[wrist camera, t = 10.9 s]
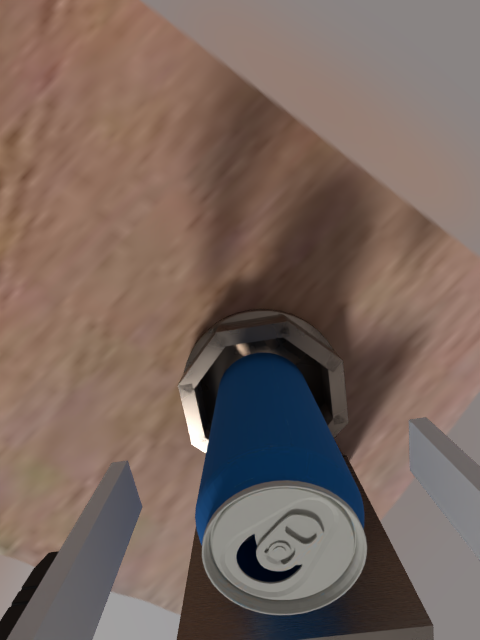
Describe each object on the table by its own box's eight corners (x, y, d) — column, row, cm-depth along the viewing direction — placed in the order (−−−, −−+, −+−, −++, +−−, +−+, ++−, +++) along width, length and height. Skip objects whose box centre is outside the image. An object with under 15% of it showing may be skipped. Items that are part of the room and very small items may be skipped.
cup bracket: (169, 322, 21) (93, 395, 10) (331, 296, 20) (429, 344, 10) (207, 484, 24) (178, 667, 14) (347, 465, 24) (433, 641, 13)
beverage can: (202, 396, 21) (151, 566, 10) (254, 331, 20) (269, 436, 9) (268, 442, 22) (295, 650, 11) (322, 382, 21) (421, 543, 9)
